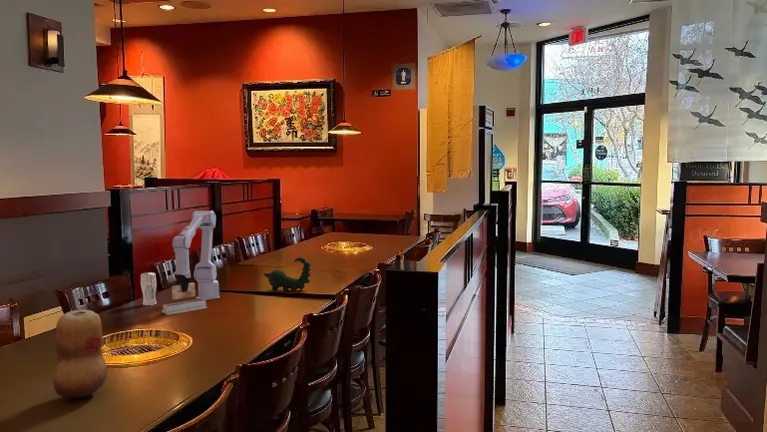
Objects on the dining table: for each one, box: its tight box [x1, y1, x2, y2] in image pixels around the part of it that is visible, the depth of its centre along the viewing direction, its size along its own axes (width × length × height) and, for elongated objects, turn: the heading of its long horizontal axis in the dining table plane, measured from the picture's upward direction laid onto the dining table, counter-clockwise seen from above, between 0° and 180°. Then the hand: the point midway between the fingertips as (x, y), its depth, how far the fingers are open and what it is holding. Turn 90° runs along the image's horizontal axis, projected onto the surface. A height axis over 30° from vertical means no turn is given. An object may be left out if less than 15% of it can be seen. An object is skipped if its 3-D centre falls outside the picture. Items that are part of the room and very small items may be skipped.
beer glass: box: [140, 271, 157, 307], centre depth 263 cm, size 7×7×15 cm
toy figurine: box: [262, 257, 312, 292], centre depth 288 cm, size 9×19×25 cm
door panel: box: [171, 282, 196, 300], centre depth 251 cm, size 10×2×6 cm, turn 129°
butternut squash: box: [52, 309, 108, 399], centre depth 157 cm, size 14×13×25 cm
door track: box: [161, 298, 208, 316], centre depth 252 cm, size 18×7×4 cm, turn 129°
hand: (183, 291), depth 251 cm, fingers closed on door panel, 2 cm apart
